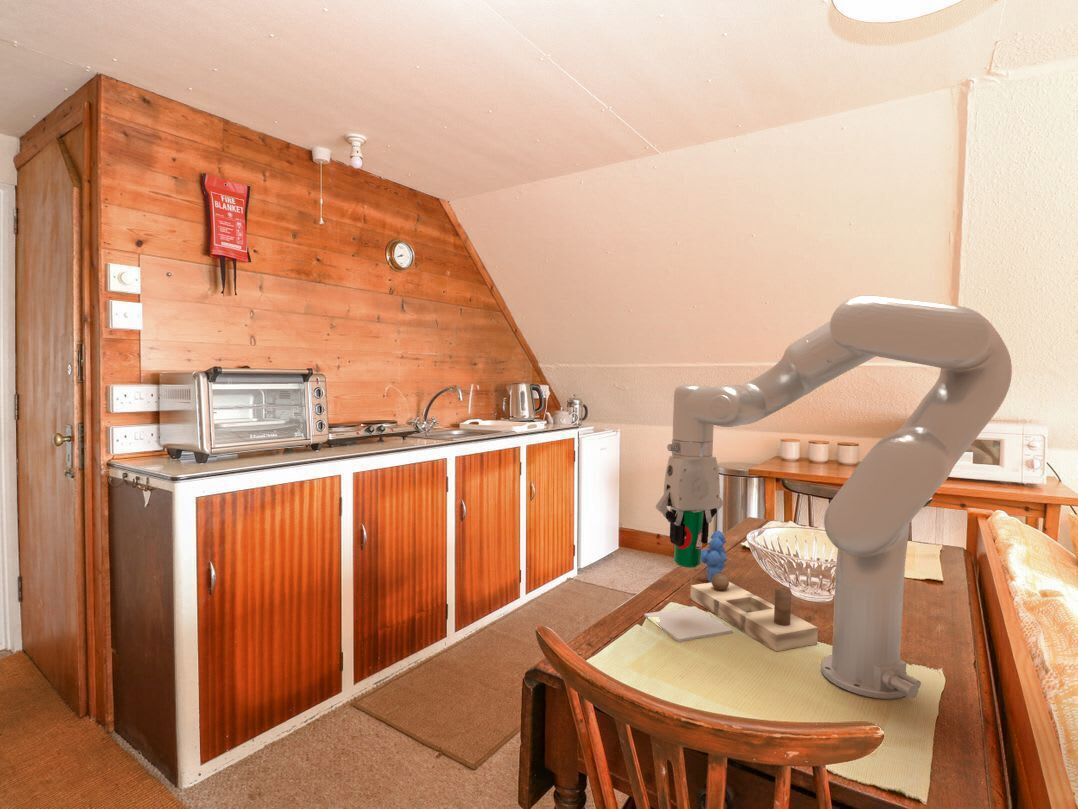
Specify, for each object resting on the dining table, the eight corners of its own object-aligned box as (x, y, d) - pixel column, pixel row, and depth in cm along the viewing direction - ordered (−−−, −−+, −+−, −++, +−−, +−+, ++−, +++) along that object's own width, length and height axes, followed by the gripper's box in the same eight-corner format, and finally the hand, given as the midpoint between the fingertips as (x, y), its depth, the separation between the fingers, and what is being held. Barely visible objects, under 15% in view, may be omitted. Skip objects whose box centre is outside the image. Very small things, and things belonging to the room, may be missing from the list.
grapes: (701, 572, 146) (702, 524, 146) (729, 576, 143) (731, 527, 143) (692, 587, 136) (693, 535, 135) (723, 592, 133) (724, 539, 132)
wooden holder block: (817, 643, 108) (819, 595, 108) (776, 651, 105) (778, 601, 105) (726, 593, 132) (727, 553, 132) (690, 598, 129) (691, 557, 129)
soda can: (701, 570, 113) (705, 507, 112) (674, 567, 114) (677, 505, 113) (699, 561, 118) (703, 501, 117) (673, 558, 119) (676, 499, 118)
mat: (732, 632, 113) (732, 630, 112) (678, 641, 108) (678, 639, 108) (694, 608, 124) (694, 606, 124) (644, 616, 119) (644, 613, 119)
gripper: (664, 453, 108) (661, 552, 109) (741, 450, 114) (737, 544, 115) (643, 448, 115) (640, 541, 116) (716, 445, 121) (713, 534, 122)
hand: (688, 542), depth 115 cm, fingers closed on soda can, 5 cm apart
